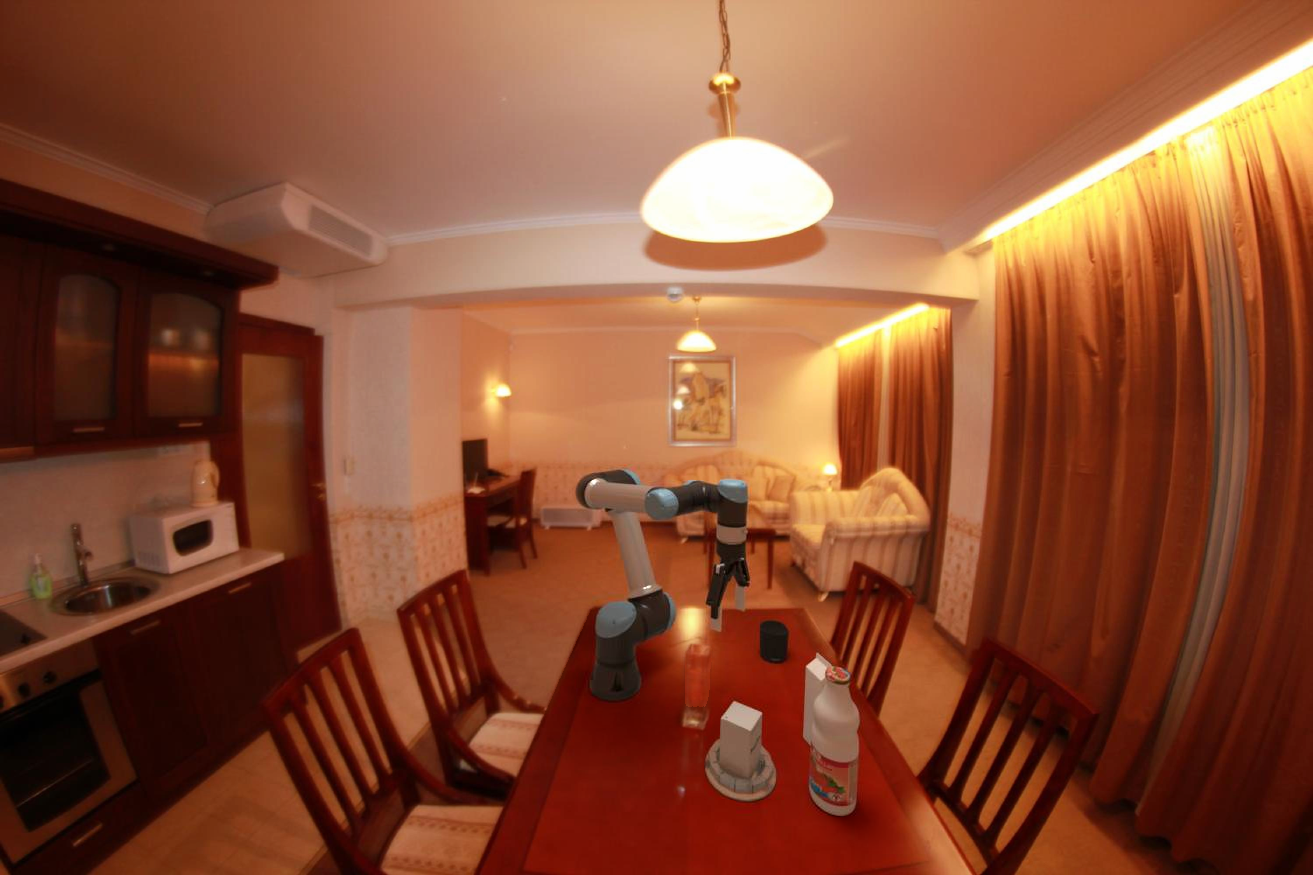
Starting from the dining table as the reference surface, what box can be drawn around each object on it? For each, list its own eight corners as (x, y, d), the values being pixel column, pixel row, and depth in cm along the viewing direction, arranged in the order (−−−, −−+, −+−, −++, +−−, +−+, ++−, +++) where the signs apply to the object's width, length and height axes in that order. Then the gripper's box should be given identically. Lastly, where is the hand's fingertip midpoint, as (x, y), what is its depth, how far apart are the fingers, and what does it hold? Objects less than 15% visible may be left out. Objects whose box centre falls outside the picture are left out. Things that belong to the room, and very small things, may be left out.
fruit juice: (866, 811, 91) (873, 683, 89) (826, 822, 89) (832, 690, 87) (836, 774, 100) (842, 656, 98) (800, 783, 98) (804, 662, 96)
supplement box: (748, 786, 96) (750, 731, 95) (718, 769, 100) (719, 717, 99) (761, 763, 102) (763, 712, 101) (732, 749, 106) (733, 699, 105)
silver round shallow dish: (692, 777, 99) (692, 765, 99) (723, 733, 112) (724, 723, 112) (760, 815, 90) (760, 802, 90) (785, 763, 103) (786, 752, 103)
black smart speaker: (753, 656, 147) (754, 627, 146) (766, 645, 154) (767, 617, 153) (780, 668, 141) (781, 637, 140) (792, 655, 148) (793, 626, 147)
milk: (817, 755, 106) (821, 668, 104) (802, 737, 112) (805, 653, 110) (839, 749, 108) (842, 663, 106) (823, 731, 113) (826, 650, 111)
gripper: (721, 556, 101) (718, 644, 103) (764, 531, 121) (760, 605, 123) (693, 549, 106) (690, 634, 108) (739, 526, 126) (736, 597, 128)
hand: (728, 619), depth 116 cm, fingers open, 13 cm apart
